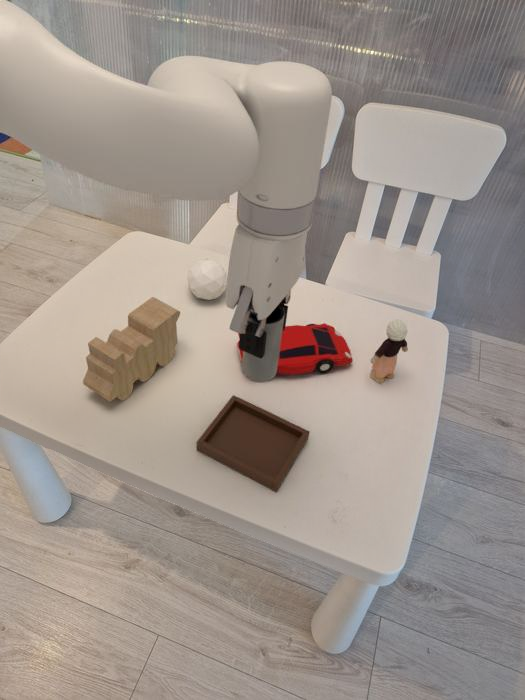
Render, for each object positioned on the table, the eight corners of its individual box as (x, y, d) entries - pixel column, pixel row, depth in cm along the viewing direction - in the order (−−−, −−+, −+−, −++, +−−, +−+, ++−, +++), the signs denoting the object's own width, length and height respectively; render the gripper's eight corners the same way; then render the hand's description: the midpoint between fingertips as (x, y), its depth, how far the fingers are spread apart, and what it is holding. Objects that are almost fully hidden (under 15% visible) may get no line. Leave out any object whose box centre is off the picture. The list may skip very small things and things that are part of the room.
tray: (196, 450, 79) (196, 442, 77) (232, 402, 85) (233, 394, 84) (276, 492, 75) (277, 485, 73) (308, 439, 81) (309, 431, 80)
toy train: (86, 395, 84) (74, 352, 77) (158, 337, 95) (154, 294, 87) (111, 412, 82) (101, 369, 75) (182, 351, 93) (180, 308, 85)
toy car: (356, 369, 93) (362, 349, 89) (246, 388, 88) (248, 368, 84) (335, 328, 99) (339, 309, 96) (231, 344, 95) (232, 324, 91)
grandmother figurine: (385, 359, 95) (403, 306, 86) (402, 372, 93) (423, 319, 84) (357, 379, 91) (373, 326, 82) (374, 393, 89) (393, 340, 80)
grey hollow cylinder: (276, 384, 67) (285, 324, 59) (241, 381, 66) (245, 322, 59) (276, 358, 70) (284, 298, 62) (242, 356, 70) (246, 296, 62)
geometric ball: (197, 302, 106) (180, 266, 104) (233, 286, 106) (217, 250, 103) (197, 310, 99) (178, 271, 96) (236, 293, 99) (218, 254, 96)
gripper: (281, 162, 58) (267, 291, 71) (194, 234, 47) (198, 370, 60) (343, 183, 55) (318, 312, 69) (268, 262, 45) (255, 398, 58)
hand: (262, 338), depth 64 cm, fingers closed on grey hollow cylinder, 4 cm apart
